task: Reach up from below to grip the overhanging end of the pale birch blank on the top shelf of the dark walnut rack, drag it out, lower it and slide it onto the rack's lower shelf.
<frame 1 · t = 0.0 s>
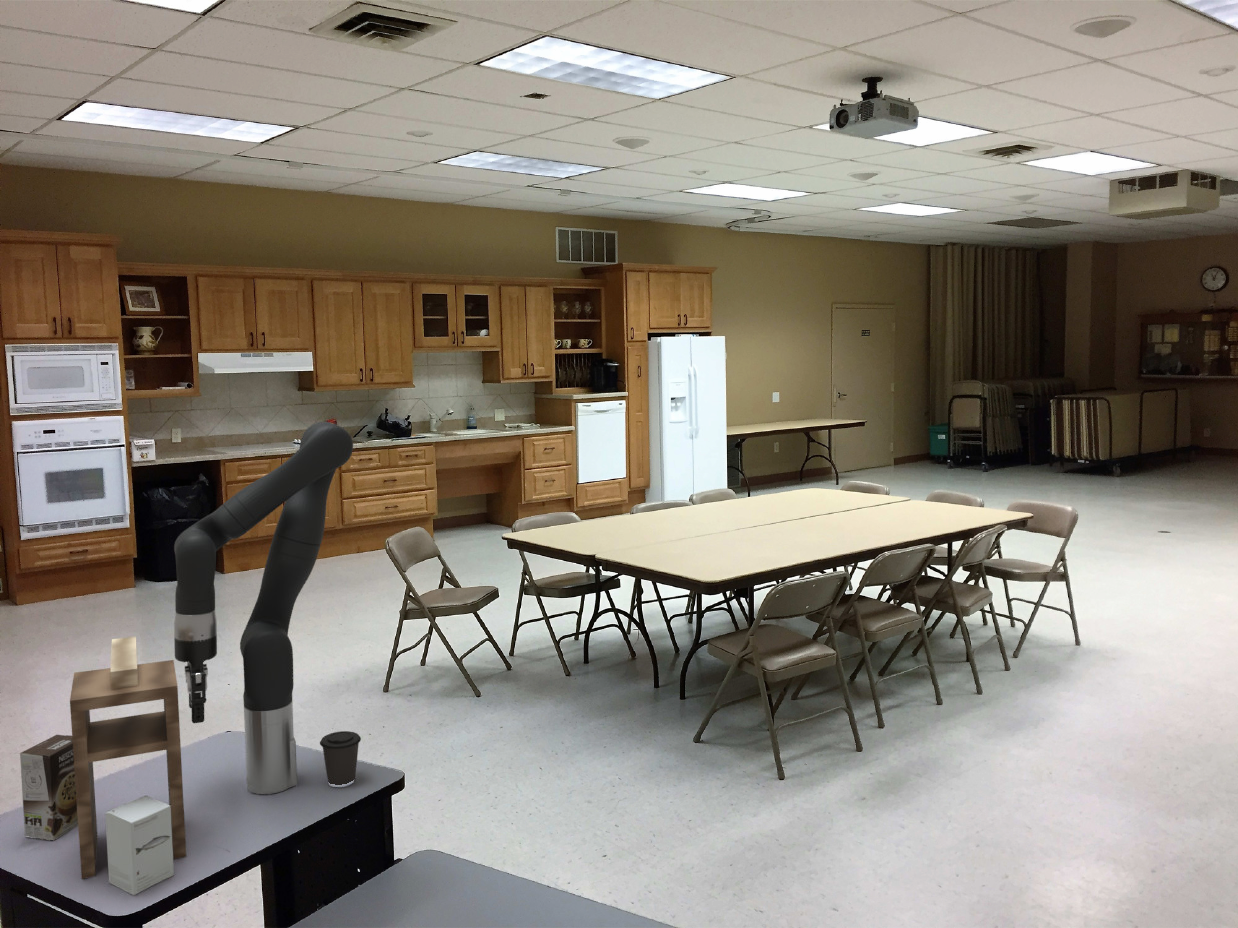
hand: (196, 714, 188), 17 cm above the table, tool pointing down, fingers open, 8 cm apart
coffee cup: (341, 782, 197), on the table
birch blank: (124, 669, 172), point 31 cm above the table, touching walnut rack
coffee box: (58, 828, 178), on the table
supplement box: (142, 880, 161), on the table
walnut rack: (134, 846, 171), on the table
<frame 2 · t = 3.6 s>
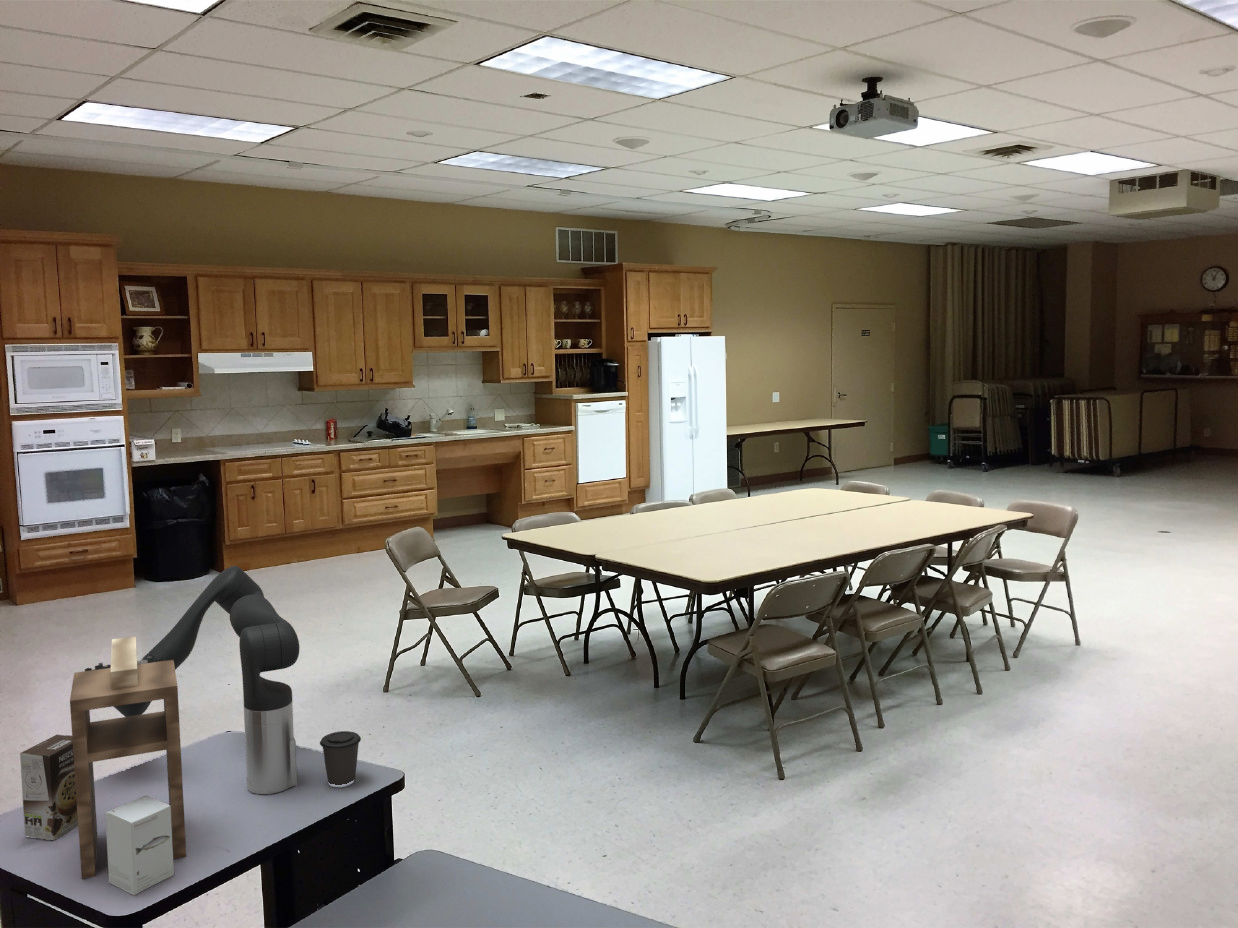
hand: (125, 664, 188), 27 cm above the table, tool pointing upward, fingers open, 8 cm apart
nothing on the table moved.
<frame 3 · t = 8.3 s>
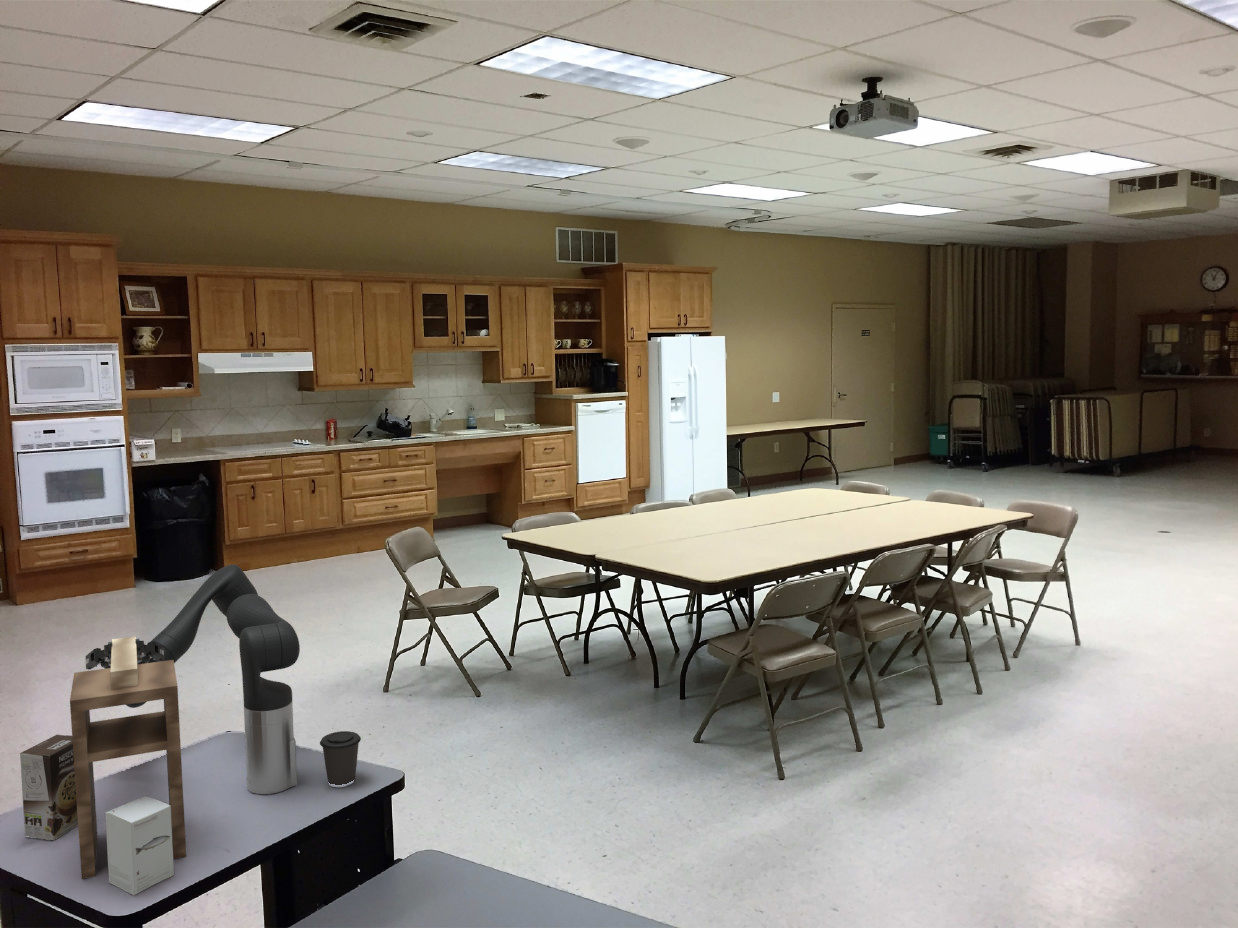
hand: (123, 645, 177), 34 cm above the table, tool pointing upward, fingers closed on birch blank, 4 cm apart
birch blank: (124, 669, 172), point 31 cm above the table, touching gripper, walnut rack
everything else where it was.
when the fingers open (27 cm above the table, at t = 18.9 s): birch blank drops 2 cm, resting on walnut rack.
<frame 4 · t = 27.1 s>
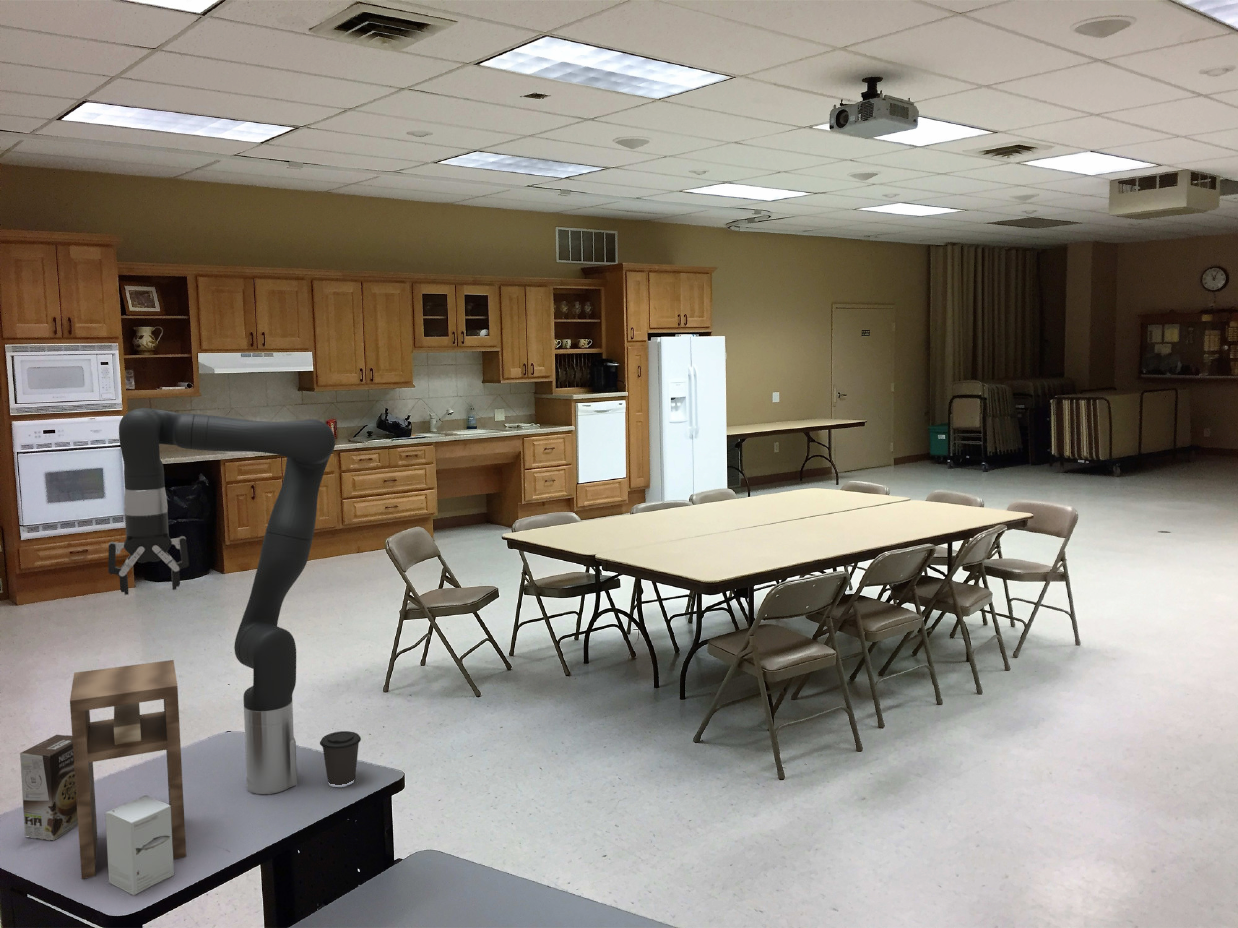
hand: (150, 591, 191), 40 cm above the table, tool pointing down, fingers open, 8 cm apart
birch blank: (127, 721, 173), point 21 cm above the table, touching walnut rack
everything else where it was.
at the end: birch blank inside the target area (0.2 cm from its centre), point 21.5 cm above the table; birch blank tilted 0°; the gripper is holding nothing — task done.
